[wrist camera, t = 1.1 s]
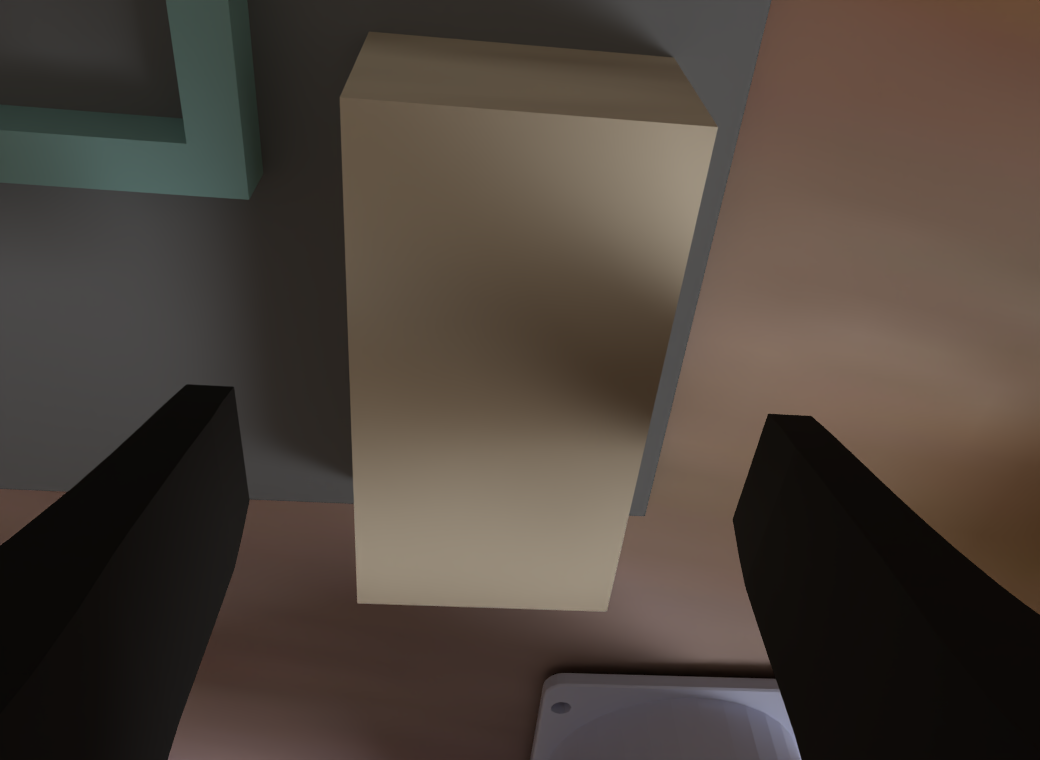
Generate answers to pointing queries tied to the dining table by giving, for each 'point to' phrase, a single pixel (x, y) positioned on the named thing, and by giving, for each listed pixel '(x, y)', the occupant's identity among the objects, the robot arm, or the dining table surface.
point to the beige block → (508, 309)
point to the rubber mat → (262, 227)
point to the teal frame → (156, 122)
